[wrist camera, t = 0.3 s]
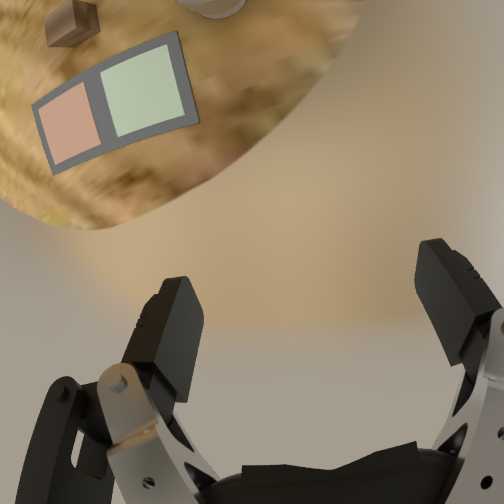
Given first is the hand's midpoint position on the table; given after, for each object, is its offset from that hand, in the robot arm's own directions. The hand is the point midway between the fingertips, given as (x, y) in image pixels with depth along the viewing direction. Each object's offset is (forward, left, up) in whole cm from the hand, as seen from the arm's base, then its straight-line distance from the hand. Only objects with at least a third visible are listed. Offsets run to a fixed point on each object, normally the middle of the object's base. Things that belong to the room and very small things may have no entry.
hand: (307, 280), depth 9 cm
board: (-10, -22, -29) cm, 38 cm away
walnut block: (-24, -22, -29) cm, 44 cm away
